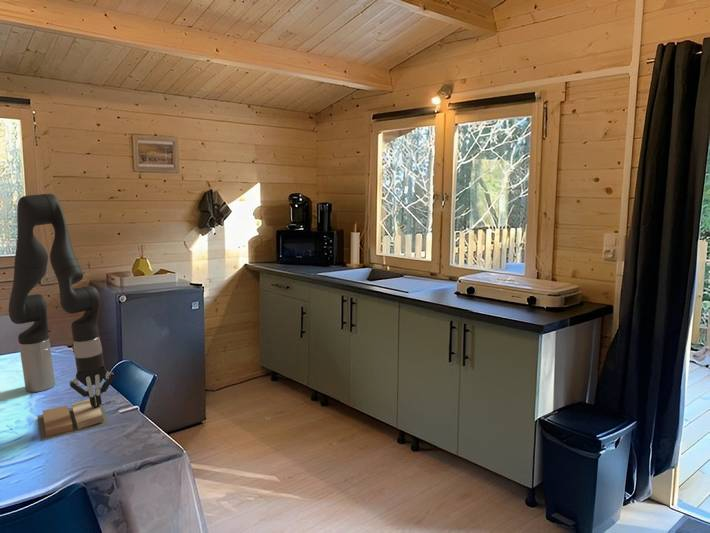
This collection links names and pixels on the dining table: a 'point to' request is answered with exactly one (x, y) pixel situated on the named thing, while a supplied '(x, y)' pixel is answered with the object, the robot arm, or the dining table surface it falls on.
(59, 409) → the floor section
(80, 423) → the oak plank
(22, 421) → the dining table surface
